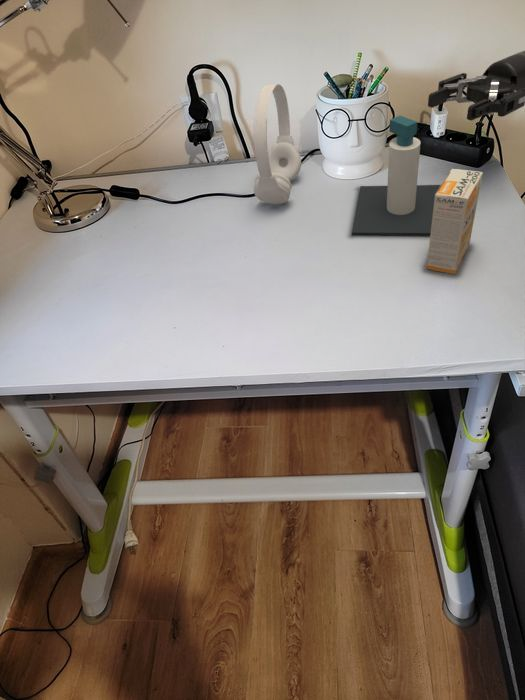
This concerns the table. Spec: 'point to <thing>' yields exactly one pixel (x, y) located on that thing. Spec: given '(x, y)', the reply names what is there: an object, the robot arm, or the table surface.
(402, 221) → the mat
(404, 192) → the spray bottle
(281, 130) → the headphones
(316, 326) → the table surface
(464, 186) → the supplement box
